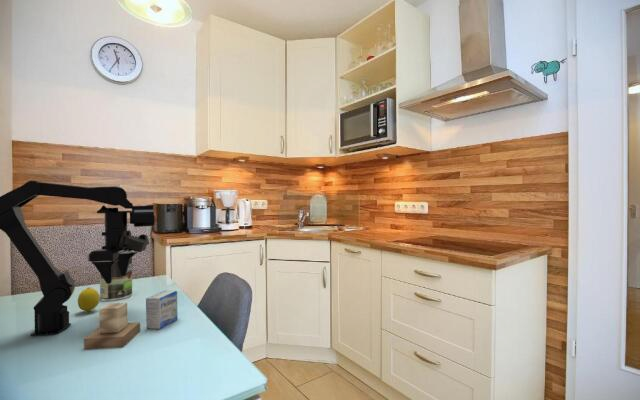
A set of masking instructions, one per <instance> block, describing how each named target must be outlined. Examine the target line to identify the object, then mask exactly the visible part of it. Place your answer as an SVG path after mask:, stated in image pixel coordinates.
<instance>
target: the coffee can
mask: <svg viewBox="0 0 640 400" xmlns="http://www.w3.org/2000/svg"><path fill="white" fill-rule="evenodd" d="M115 260H116V259H115ZM132 296H133V257H132V258H131V261H130V264H129V267H128V270H127V274H126V276H122V275H121V273H120V270H119V267H118V264H117V262H116V263H115V264H114V268H113V276H112V282H111V283H110V284H107V283H106V282H105V280H104V279H103V277H102V275H101V274H100V273H99V301H102V302H111V301H112V302H114V301H115V302H116V301H119V300H124V299H127V298H130V297H132Z"/></svg>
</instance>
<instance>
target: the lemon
mask: <svg viewBox="0 0 640 400" xmlns="http://www.w3.org/2000/svg"><path fill="white" fill-rule="evenodd" d="M99 301H100V293H99V292H98V291H97V290H96V289H95V288H92V287H86V288H85V289H83V290H82V291H81V292H79V295H78V296H77V305H78V308H79V309H80V310H82V311H84V312H86V313H90V312H91V311H93V309H95V308H96V307H97V306H98V305H99Z"/></svg>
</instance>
